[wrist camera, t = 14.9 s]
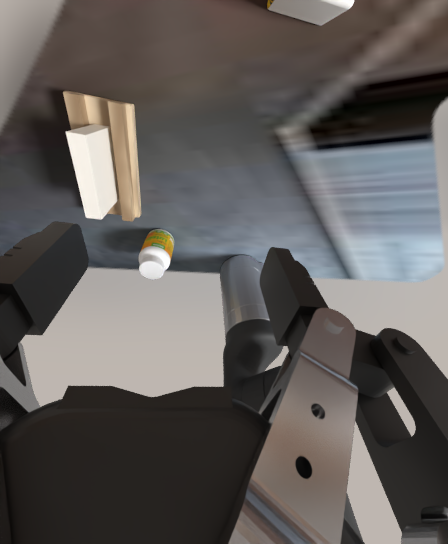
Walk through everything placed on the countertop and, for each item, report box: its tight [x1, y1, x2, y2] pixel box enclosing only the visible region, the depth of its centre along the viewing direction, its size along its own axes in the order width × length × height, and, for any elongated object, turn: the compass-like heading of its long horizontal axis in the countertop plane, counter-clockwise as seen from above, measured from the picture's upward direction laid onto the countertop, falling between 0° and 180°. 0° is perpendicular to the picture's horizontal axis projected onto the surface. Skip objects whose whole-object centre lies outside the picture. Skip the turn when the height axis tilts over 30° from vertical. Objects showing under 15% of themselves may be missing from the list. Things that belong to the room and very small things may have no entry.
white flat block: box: [66, 124, 119, 219], centre depth 30 cm, size 2×10×8 cm, turn 170°
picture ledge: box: [63, 91, 141, 221], centre depth 33 cm, size 8×16×3 cm, turn 170°
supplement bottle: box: [139, 229, 174, 280], centre depth 39 cm, size 5×5×10 cm
